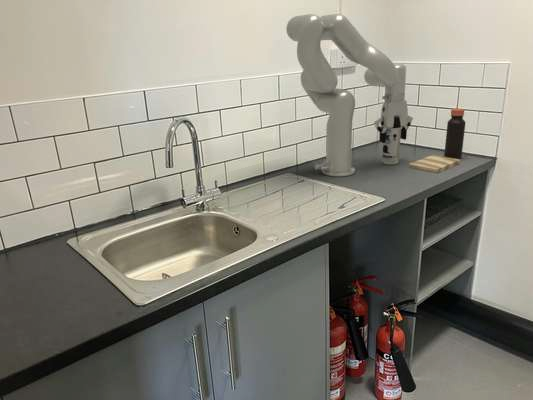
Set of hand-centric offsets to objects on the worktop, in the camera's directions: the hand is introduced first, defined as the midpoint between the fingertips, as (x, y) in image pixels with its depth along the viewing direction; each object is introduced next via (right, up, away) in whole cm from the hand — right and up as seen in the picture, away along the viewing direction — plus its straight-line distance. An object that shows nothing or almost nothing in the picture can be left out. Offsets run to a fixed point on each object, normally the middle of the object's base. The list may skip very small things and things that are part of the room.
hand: (392, 140), depth 177 cm
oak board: (+16, -10, -3) cm, 19 cm away
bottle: (+27, -6, +7) cm, 29 cm away
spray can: (0, -9, +3) cm, 10 cm away
